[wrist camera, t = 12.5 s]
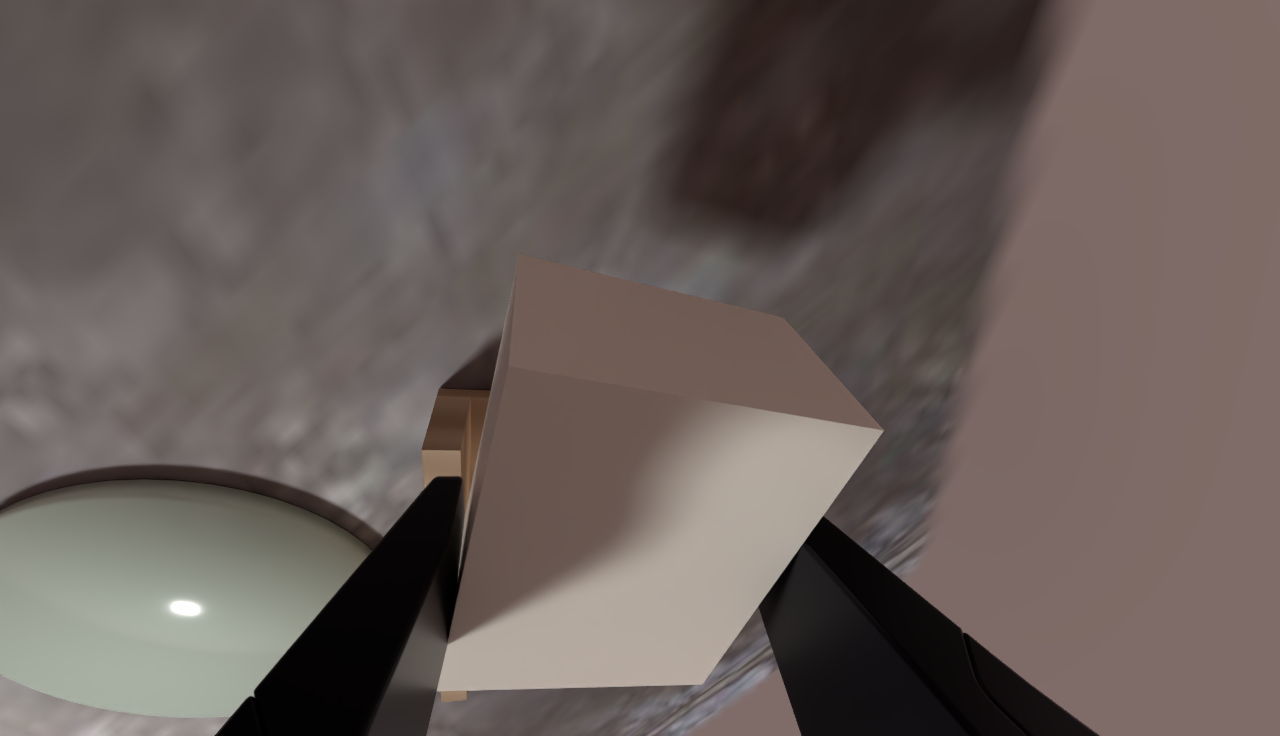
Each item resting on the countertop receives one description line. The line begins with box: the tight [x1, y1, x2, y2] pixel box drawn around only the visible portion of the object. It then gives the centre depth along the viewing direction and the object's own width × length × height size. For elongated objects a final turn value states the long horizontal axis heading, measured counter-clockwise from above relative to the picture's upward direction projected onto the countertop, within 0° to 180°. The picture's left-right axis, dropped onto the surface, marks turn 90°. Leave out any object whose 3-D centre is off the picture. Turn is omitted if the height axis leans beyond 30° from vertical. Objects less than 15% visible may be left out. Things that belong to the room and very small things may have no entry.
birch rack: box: [422, 389, 491, 702], centre depth 19 cm, size 14×8×3 cm, turn 170°
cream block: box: [437, 254, 884, 691], centre depth 8 cm, size 6×4×3 cm
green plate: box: [0, 479, 372, 718], centre depth 19 cm, size 14×14×1 cm
